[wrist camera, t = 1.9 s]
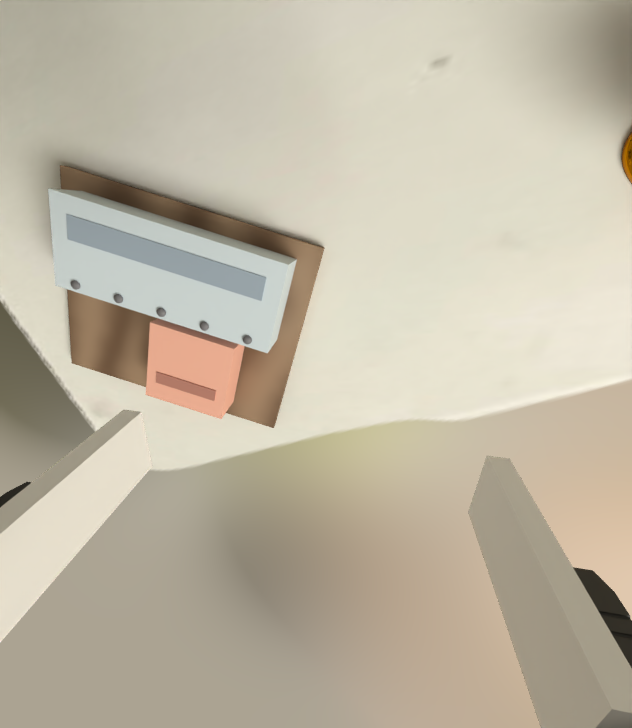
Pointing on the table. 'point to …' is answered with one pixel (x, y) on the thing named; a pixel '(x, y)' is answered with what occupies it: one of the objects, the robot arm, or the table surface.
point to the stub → (192, 368)
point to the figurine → (627, 157)
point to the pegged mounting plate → (168, 269)
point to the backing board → (131, 328)
